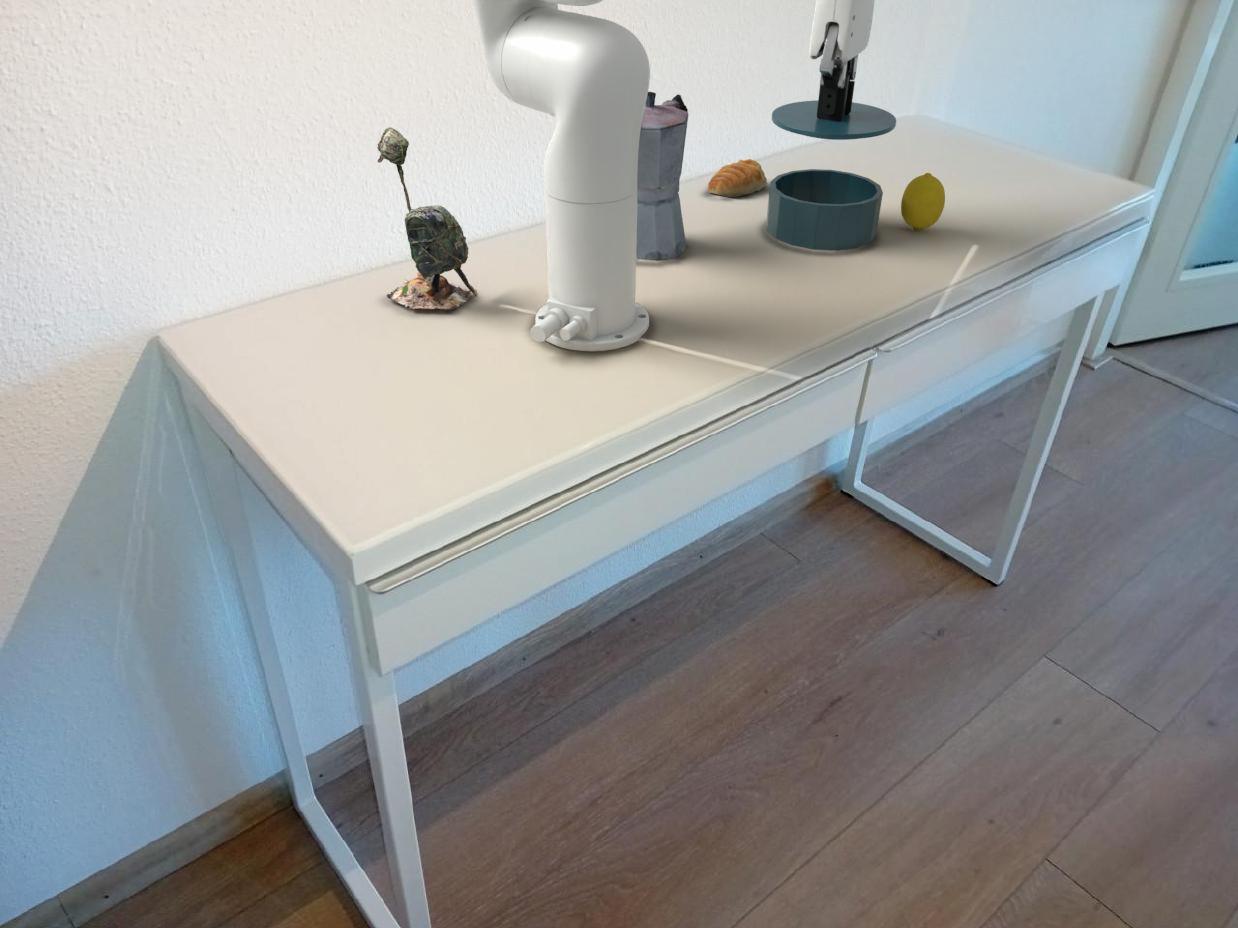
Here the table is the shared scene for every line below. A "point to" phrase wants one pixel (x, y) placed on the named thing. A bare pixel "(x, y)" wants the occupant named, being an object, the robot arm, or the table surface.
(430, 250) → the stone sculpture
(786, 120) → the lid
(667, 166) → the moka pot
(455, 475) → the table surface
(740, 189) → the pastry
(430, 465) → the table surface
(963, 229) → the table surface
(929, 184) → the lemon
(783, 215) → the pot
